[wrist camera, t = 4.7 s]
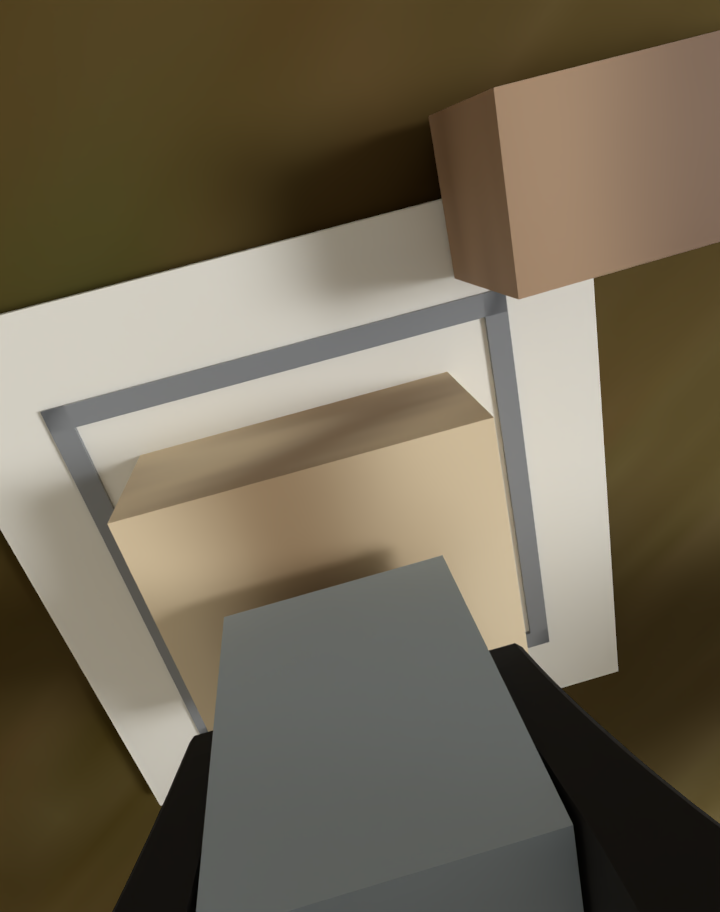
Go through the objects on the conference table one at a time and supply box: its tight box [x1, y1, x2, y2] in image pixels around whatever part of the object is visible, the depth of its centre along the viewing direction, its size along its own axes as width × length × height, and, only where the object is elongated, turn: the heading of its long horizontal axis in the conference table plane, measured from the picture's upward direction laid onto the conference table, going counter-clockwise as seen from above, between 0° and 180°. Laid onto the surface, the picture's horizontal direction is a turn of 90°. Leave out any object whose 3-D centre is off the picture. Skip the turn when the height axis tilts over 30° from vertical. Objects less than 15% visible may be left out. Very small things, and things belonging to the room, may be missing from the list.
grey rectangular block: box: [196, 555, 584, 912], centre depth 9 cm, size 4×4×5 cm
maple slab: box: [107, 372, 529, 732], centre depth 13 cm, size 7×7×3 cm
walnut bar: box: [428, 30, 720, 299], centre depth 11 cm, size 8×3×3 cm, turn 104°
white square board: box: [0, 199, 618, 806], centre depth 15 cm, size 14×14×1 cm
